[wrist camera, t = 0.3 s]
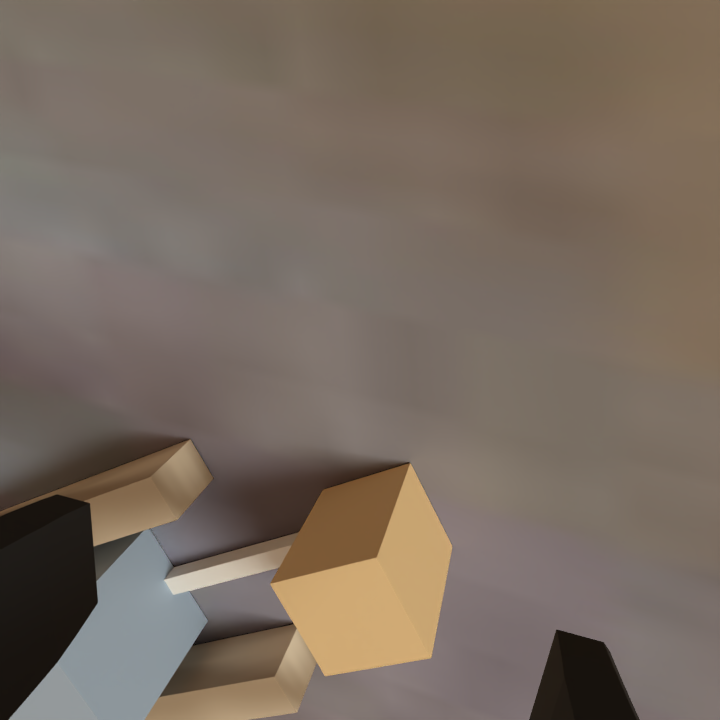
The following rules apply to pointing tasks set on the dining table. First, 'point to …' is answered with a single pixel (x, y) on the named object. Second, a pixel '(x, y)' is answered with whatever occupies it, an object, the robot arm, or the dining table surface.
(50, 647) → the robot arm
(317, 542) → the tethered block
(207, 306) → the dining table surface
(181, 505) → the lane
